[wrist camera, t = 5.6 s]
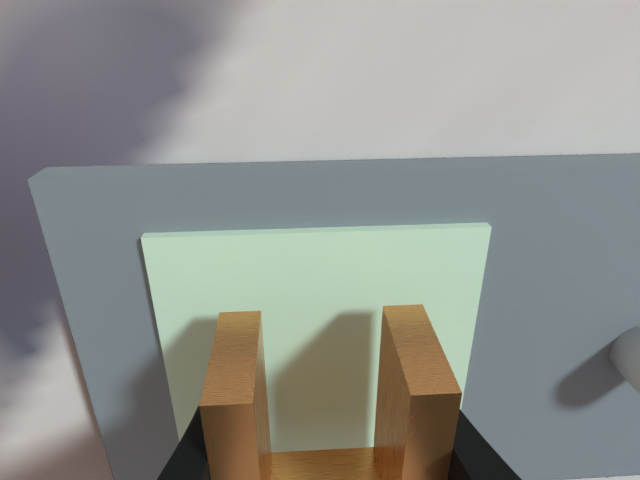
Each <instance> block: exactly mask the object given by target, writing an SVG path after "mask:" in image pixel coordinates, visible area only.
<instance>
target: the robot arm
mask: <svg viewBox="0 0 640 480" xmlns="http://www.w3.org/2000/svg"><path fill="white" fill-rule="evenodd" d="M157 480H211V476H210V470H209V464H208V458H207V452H206V445H205V439H204V433H203V427H202V421H201V415H200V408H199V406H198V407H197V410H196V412H195V414H194V416H193V418H192V420H191V422H190V424H189V426H188V427H187V429H186V431H185V433H184V435H183V437H182V438H181V440H180V442H179V444H178V445H177V447H176V449H175V451H174V452H173V454H172V455H171V457H170V459H169V460H168V462H167V464H166V465H165V467H164V468H163V470H162V472H161V473H160V475H159V477H158V478H157ZM447 480H522V479H521V478H520V477H519V476H518V475H517V474H516V473H515V472H514V471H513V470H512V469H511V467H510V466H509V465H508V464H507V463H506V462H505V461H504V460H503V459H502V458H501V457H500V455H499V454H498V453H497V452H496V451H495V450H494V449H493V448H492V447H491V445H490V444H489V443H488V442H487V441H486V440H485V439H484V437H483V436H482V435H481V434H480V433H479V431H478V430H477V429H476V428H475V427H474V426H473V424H472V423H471V422H470V421H469V419H468V418H467V417H466V416H465V415H464V413H463V412H462V411H461V410H460V409H459V415H458V421H457V427H456V433H455V438H454V444H453V450H452V456H451V461H450V467H449V473H448V479H447Z"/></svg>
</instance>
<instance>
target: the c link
mask: <svg viewBox="0 0 640 480" xmlns="http://www.w3.org/2000/svg"><path fill="white" fill-rule="evenodd" d="M461 398H462V391H461V389H460V387H459V384H458V382H457V380H456V378H455V376H454V373H453V371H452V369H451V367H450V364H449V362H448V360H447V358H446V355H445V353H444V351H443V349H442V346H441V344H440V342H439V340H438V338H437V335H436V333H435V331H434V329H433V326H432V324H431V322H430V320H429V317H428V315H427V313H426V311H425V309H424V306H423V304H418V305H393V306H383V310H382V325H381V340H380V355H379V371H378V386H377V401H376V416H375V432H374V447H364V448H346V449H328V450H309V451H291V452H273V453H271V441H270V427H269V414H268V400H267V386H266V373H265V359H264V345H263V332H262V318H261V311H241V312H220V313H219V317H218V322H217V327H216V331H215V336H214V340H213V345H212V350H211V354H210V359H209V363H208V368H207V372H206V377H205V382H204V386H203V391H202V395H201V400H200V404H199V408H200V415H201V421H202V427H203V433H204V439H205V445H206V452H207V458H208V464H209V470H210V476H211V480H447V479H448V473H449V467H450V461H451V456H452V450H453V444H454V438H455V433H456V427H457V421H458V415H459V409H460V404H461Z"/></svg>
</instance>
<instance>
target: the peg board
mask: <svg viewBox="0 0 640 480" xmlns="http://www.w3.org/2000/svg"><path fill="white" fill-rule="evenodd" d="M28 184H29V187H30V191H31V194H32V197H33V201H34V205H35V208H36V211H37V215H38V218H39V222H40V225H41V229H42V232H43V236H44V239H45V243H46V246H47V250H48V253H49V256H50V260H51V264H52V267H53V270H54V274H55V277H56V281H57V284H58V287H59V291H60V295H61V298H62V302H63V305H64V309H65V312H66V315H67V319H68V322H69V326H70V329H71V333H72V336H73V340H74V343H75V347H76V350H77V354H78V357H79V361H80V364H81V367H82V371H83V374H84V378H85V381H86V385H87V388H88V392H89V395H90V399H91V402H92V406H93V409H94V412H95V416H96V419H97V423H98V426H99V430H100V433H101V437H102V440H103V444H104V447H105V451H106V454H107V457H108V461H109V464H110V468H111V471H112V475H113V478H114V480H157V478H158V477H159V475H160V473H161V472H162V470H163V468H164V467H165V465H166V464H167V462H168V460H169V459H170V457H171V455H172V454H173V452H174V451H175V449H176V447H177V445H178V444H179V442H180V440H181V438H182V437H183V435H184V433H185V431H186V429H187V427H188V426H189V424H190V422H191V420H192V418H193V416H194V414H195V412H196V410H197V407H198V406H199V404H200V400H201V395H202V391H203V386H204V382H205V377H206V372H207V368H208V363H209V359H210V354H211V350H212V345H213V340H214V336H215V331H216V327H217V322H218V317H219V313H220V312H241V311H261V318H262V332H263V345H264V359H265V373H266V386H267V400H268V414H269V427H270V441H271V453H273V452H291V451H309V450H328V449H346V448H364V447H374V432H375V416H376V401H377V386H378V371H379V355H380V340H381V325H382V310H383V306H393V305H418V304H423V306H424V309H425V311H426V313H427V315H428V317H429V320H430V322H431V324H432V326H433V329H434V331H435V333H436V335H437V338H438V340H439V342H440V344H441V346H442V349H443V351H444V353H445V355H446V358H447V360H448V362H449V364H450V367H451V369H452V371H453V373H454V376H455V378H456V380H457V382H458V384H459V387H460V389H461V391H462V398H461V404H460V410H461V411H462V412H463V413H464V415H465V416H466V417H467V418H468V419H469V421H470V422H471V423H472V424H473V426H474V427H475V428H476V429H477V430H478V431H479V433H480V434H481V435H482V436H483V437H484V439H485V440H486V441H487V442H488V443H489V444H490V445H491V447H492V448H493V449H494V450H495V451H496V452H497V453H498V454H499V455H500V457H501V458H502V459H503V460H504V461H505V462H506V463H507V464H508V465H509V466H510V467H511V469H512V470H513V471H514V472H515V473H516V474H517V475H518V476H519V477H520V478H521V479H522V480H564V479H581V478H597V477H614V476H630V475H640V153H637V154H594V155H551V156H508V157H465V158H422V159H379V160H336V161H292V162H249V163H206V164H163V165H120V166H81V167H80V166H79V167H78V166H77V167H46V168H44V169H43V170H41V171H40V172H38V173H37V174H35V175H34V176H32V177H31V178H29V179H28Z"/></svg>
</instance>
